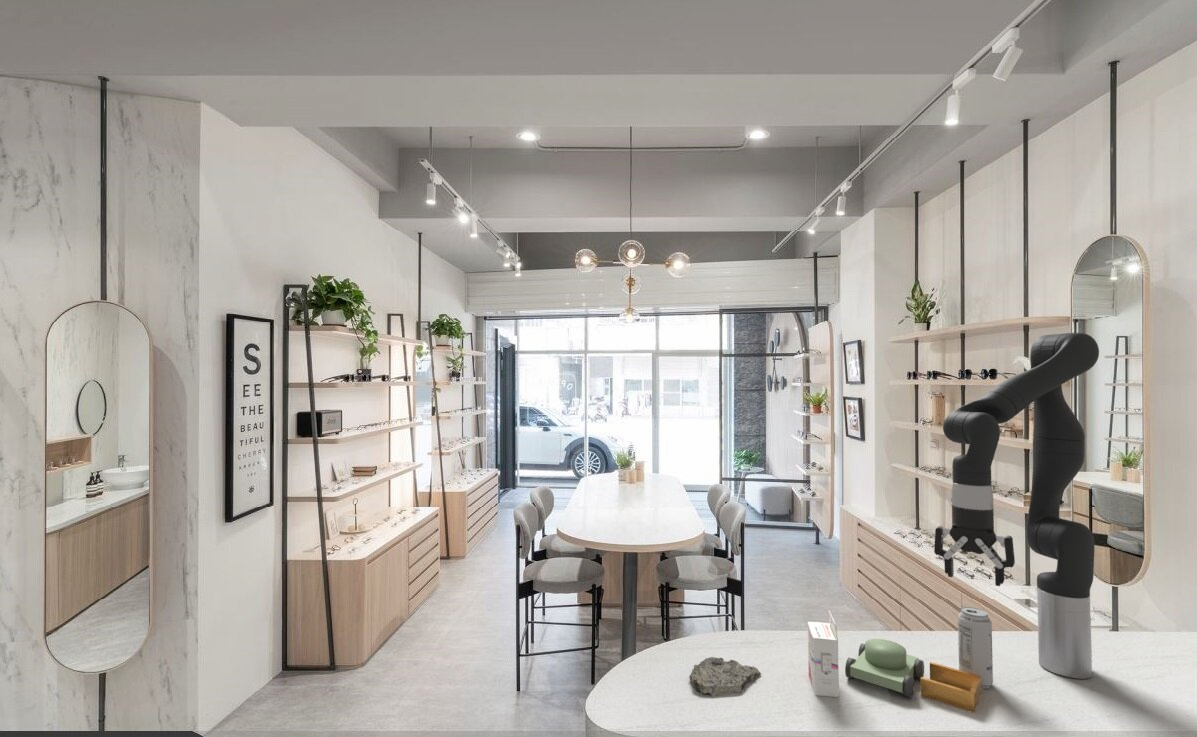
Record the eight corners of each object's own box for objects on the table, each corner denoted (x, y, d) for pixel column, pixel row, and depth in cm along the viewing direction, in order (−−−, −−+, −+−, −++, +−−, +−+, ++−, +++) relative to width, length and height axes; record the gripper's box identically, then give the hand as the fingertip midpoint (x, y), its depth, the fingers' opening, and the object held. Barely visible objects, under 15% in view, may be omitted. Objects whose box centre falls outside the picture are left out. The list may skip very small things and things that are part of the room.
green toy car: (864, 657, 132) (864, 629, 132) (924, 675, 123) (924, 645, 124) (844, 681, 121) (844, 650, 121) (908, 702, 113) (908, 669, 113)
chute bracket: (930, 678, 122) (930, 661, 122) (981, 693, 116) (981, 676, 116) (920, 695, 115) (920, 678, 116) (974, 712, 109) (973, 694, 109)
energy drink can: (996, 692, 117) (995, 618, 117) (963, 686, 119) (961, 614, 119) (988, 678, 122) (986, 608, 123) (956, 673, 124) (954, 604, 125)
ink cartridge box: (807, 674, 124) (806, 606, 124) (831, 677, 123) (830, 608, 123) (813, 695, 116) (813, 622, 116) (839, 698, 115) (838, 624, 115)
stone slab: (673, 685, 120) (673, 671, 120) (715, 657, 133) (715, 644, 133) (725, 709, 112) (725, 693, 112) (764, 676, 124) (764, 662, 124)
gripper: (1014, 506, 120) (1016, 583, 119) (938, 497, 129) (939, 569, 129) (1010, 512, 114) (1012, 593, 114) (930, 502, 124) (932, 577, 123)
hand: (973, 580), depth 121 cm, fingers open, 8 cm apart
